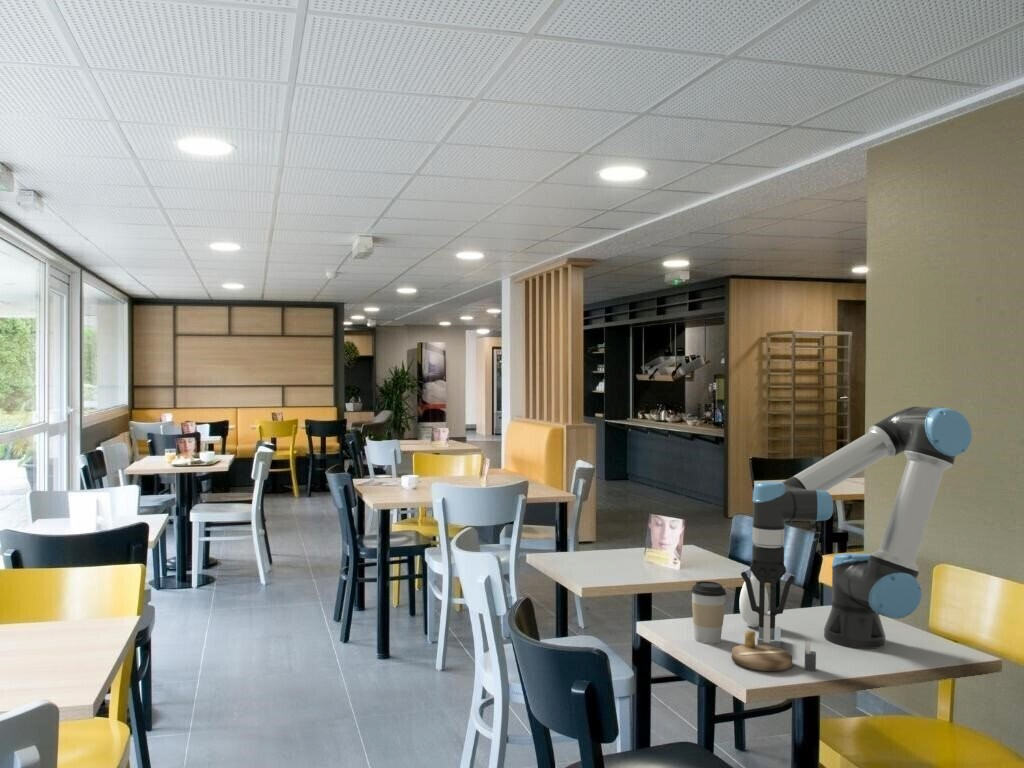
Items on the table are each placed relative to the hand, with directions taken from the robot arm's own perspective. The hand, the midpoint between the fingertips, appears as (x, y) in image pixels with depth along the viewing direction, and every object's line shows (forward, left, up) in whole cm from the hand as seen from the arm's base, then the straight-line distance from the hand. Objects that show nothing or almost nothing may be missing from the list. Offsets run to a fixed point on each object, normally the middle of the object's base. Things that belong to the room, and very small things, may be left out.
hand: (766, 640), depth 206 cm
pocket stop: (0, -10, -4) cm, 11 cm away
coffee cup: (+15, -10, -5) cm, 19 cm away
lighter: (-10, +5, -4) cm, 12 cm away
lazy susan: (+1, +5, -4) cm, 6 cm away
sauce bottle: (+4, -28, -5) cm, 29 cm away
